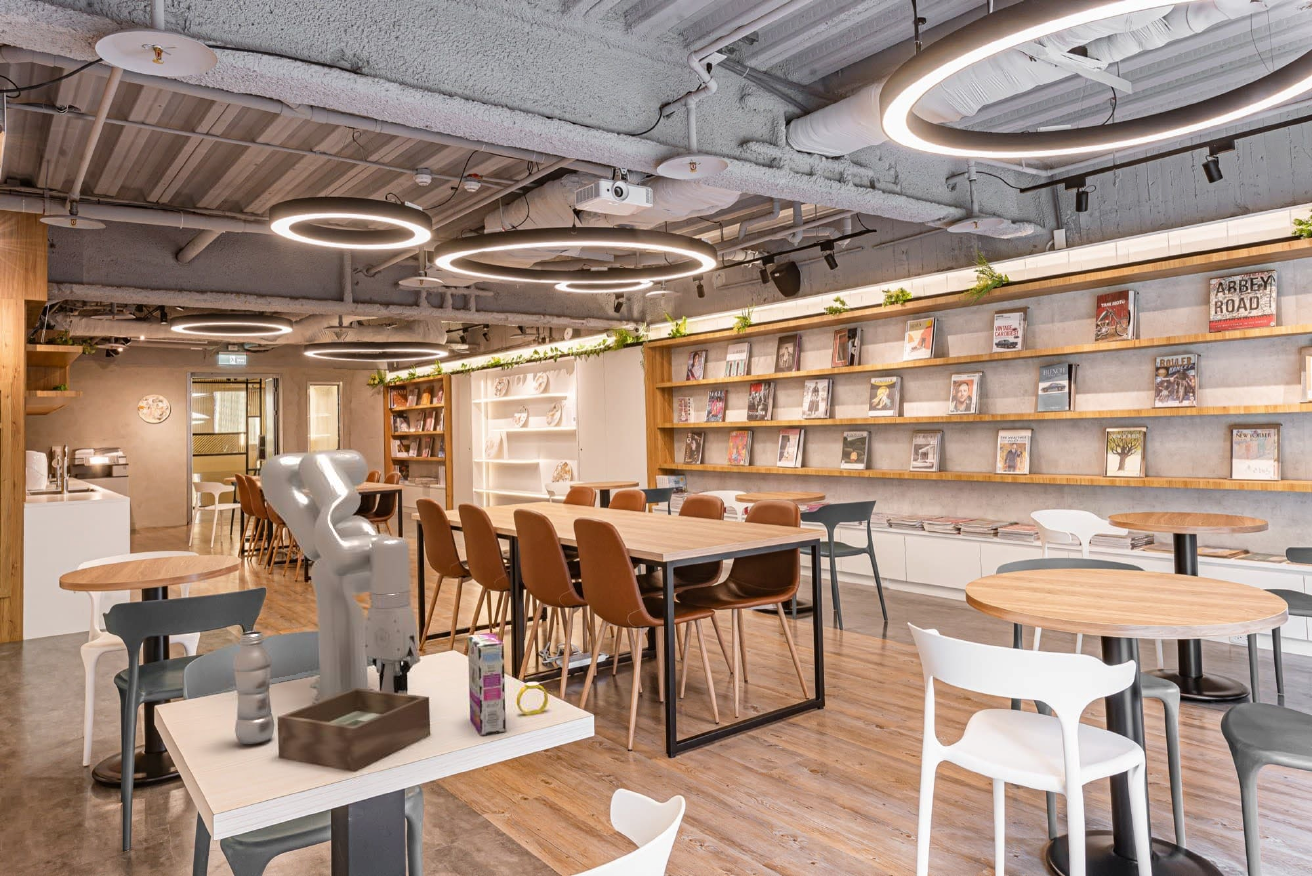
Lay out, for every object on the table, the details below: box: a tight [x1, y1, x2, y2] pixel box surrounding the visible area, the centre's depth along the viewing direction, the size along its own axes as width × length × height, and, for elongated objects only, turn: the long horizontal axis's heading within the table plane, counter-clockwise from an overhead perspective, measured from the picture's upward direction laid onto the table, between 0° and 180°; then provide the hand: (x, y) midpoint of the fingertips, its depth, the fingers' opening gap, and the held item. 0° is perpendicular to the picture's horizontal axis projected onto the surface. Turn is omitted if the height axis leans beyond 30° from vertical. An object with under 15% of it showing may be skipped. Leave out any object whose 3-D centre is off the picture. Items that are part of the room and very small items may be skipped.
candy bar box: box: [467, 632, 507, 736], centre depth 156 cm, size 11×5×16 cm, turn 23°
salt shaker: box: [381, 660, 409, 695], centre depth 163 cm, size 6×6×13 cm
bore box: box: [277, 688, 431, 772], centre depth 147 cm, size 18×18×7 cm
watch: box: [516, 681, 549, 716], centre depth 162 cm, size 6×3×6 cm, turn 114°
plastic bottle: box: [232, 630, 275, 745], centre depth 152 cm, size 6×7×20 cm
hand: (393, 692), depth 163 cm, fingers closed on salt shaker, 3 cm apart
